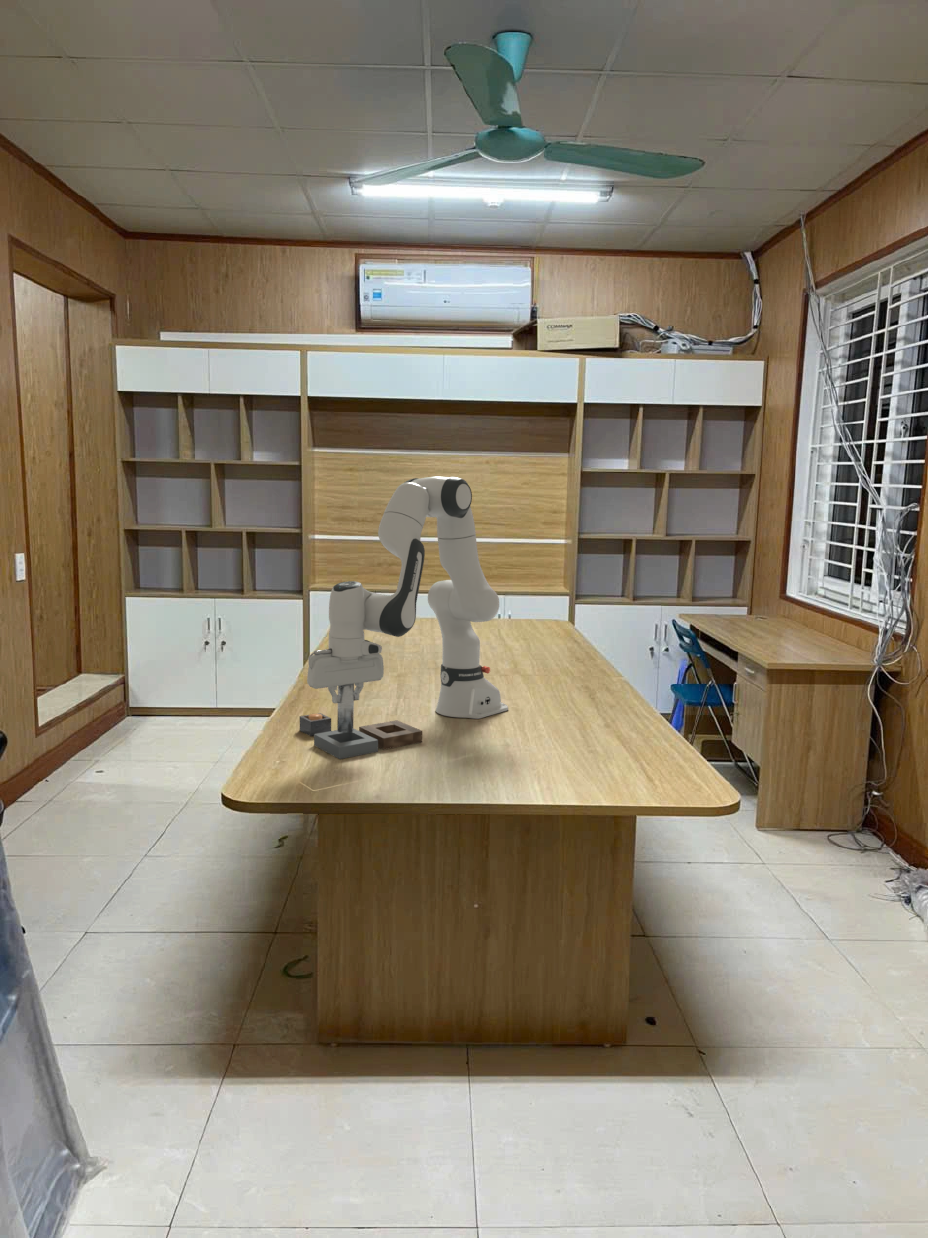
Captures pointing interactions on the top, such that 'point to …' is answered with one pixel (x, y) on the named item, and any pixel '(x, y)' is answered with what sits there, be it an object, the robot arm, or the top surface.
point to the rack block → (345, 743)
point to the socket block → (392, 734)
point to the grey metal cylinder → (345, 708)
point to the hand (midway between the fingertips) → (345, 701)
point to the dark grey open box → (315, 725)
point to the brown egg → (315, 716)
